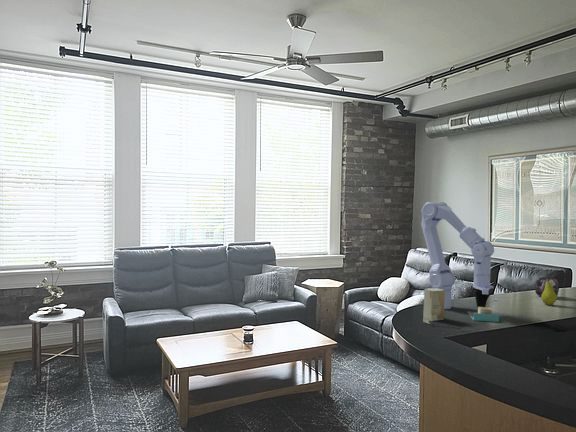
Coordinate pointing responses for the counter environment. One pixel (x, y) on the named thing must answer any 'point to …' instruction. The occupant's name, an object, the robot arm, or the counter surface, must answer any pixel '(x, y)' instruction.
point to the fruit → (548, 294)
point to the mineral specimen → (542, 282)
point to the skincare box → (433, 305)
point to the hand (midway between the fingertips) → (480, 309)
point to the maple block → (484, 310)
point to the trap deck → (484, 317)
